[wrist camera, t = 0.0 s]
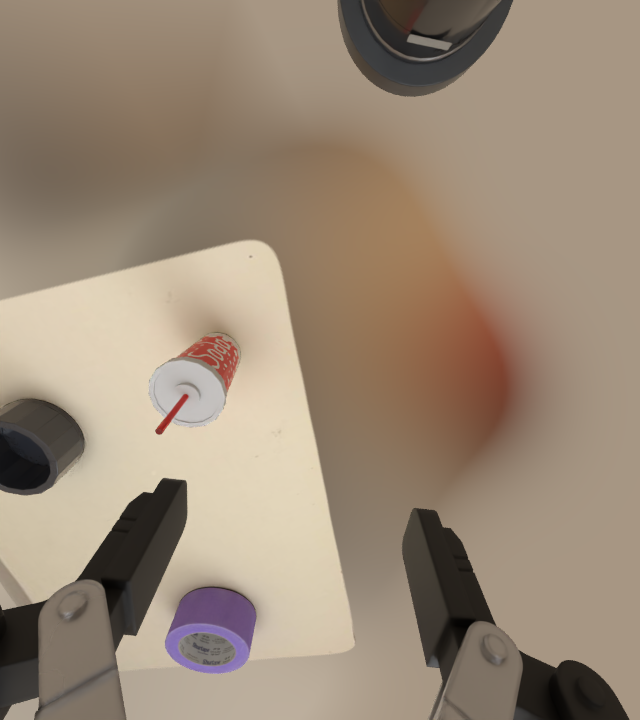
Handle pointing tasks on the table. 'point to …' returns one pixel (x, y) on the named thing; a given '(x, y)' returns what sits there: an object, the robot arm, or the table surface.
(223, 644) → the tape roll
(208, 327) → the table surface
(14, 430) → the socket
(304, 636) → the table surface
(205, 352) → the beverage cup
